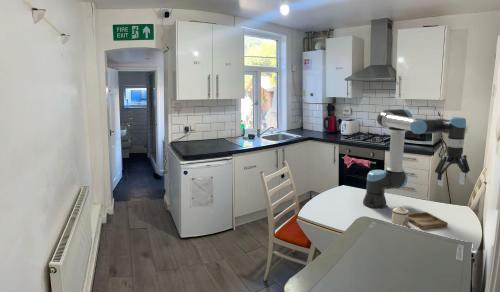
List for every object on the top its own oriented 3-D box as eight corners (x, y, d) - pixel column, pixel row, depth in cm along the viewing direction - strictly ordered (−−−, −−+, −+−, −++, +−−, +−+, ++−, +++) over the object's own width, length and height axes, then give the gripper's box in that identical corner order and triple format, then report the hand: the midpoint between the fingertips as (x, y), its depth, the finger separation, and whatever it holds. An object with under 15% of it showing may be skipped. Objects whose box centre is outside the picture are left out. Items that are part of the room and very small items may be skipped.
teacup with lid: (406, 229, 201) (408, 210, 198) (389, 226, 205) (391, 207, 203) (409, 222, 211) (411, 204, 208) (393, 219, 215) (395, 201, 213)
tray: (402, 218, 217) (403, 214, 216) (426, 215, 220) (427, 212, 220) (421, 229, 201) (422, 225, 200) (447, 226, 204) (447, 222, 204)
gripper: (440, 148, 181) (436, 188, 185) (480, 146, 186) (475, 185, 190) (429, 146, 188) (426, 184, 192) (469, 144, 193) (464, 181, 197)
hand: (450, 184), depth 191 cm, fingers open, 13 cm apart
